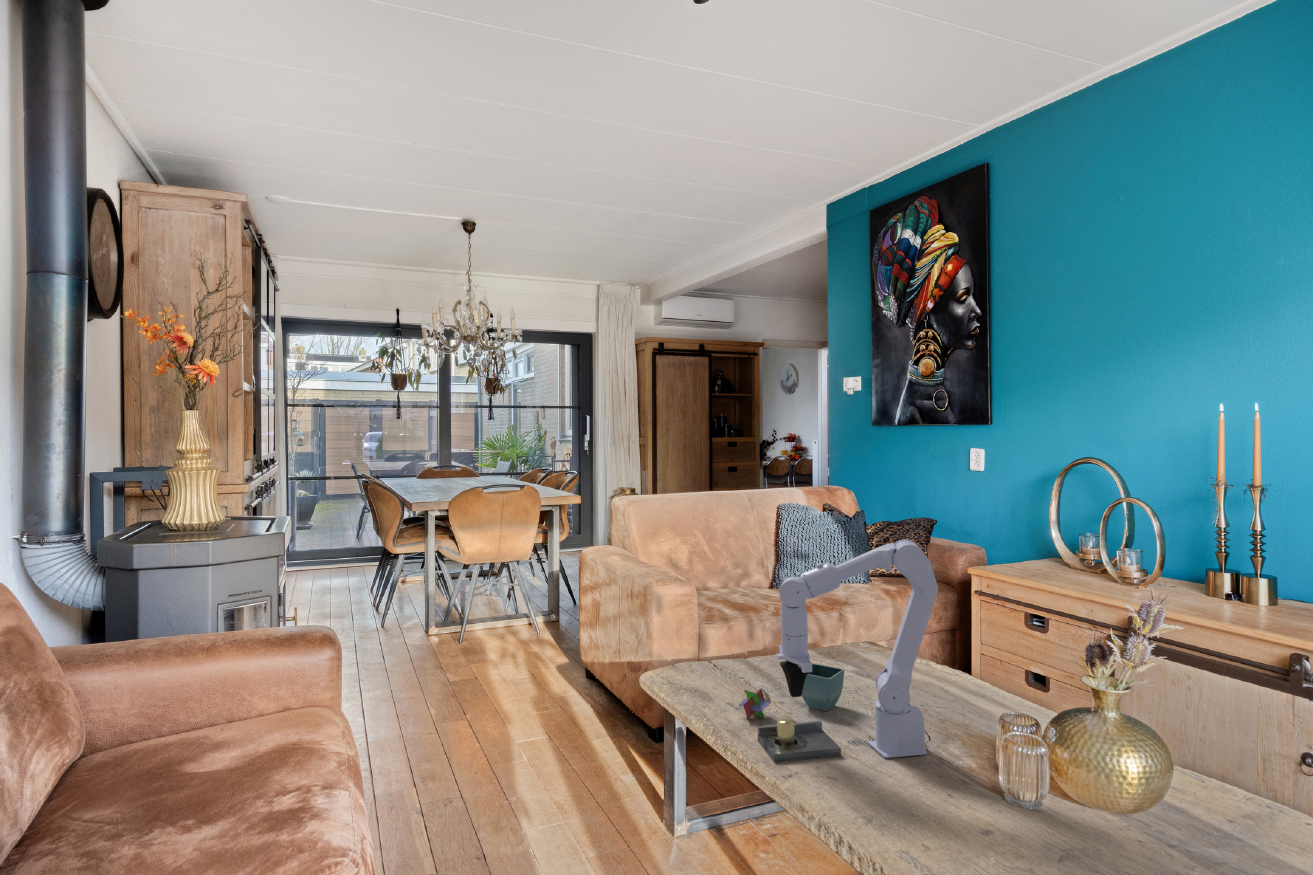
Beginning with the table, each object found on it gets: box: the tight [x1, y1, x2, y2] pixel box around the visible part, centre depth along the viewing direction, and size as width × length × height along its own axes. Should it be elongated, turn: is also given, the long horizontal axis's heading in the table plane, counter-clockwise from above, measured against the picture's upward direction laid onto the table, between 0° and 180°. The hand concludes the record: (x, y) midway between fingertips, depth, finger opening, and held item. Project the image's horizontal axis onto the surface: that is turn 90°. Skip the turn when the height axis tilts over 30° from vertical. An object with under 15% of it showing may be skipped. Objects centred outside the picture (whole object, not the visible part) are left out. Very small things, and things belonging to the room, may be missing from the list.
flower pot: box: [801, 662, 845, 712], centre depth 183 cm, size 9×9×9 cm
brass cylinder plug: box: [776, 717, 795, 747], centre depth 158 cm, size 4×4×6 cm
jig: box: [757, 720, 842, 763], centre depth 159 cm, size 14×11×3 cm
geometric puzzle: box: [738, 688, 772, 720], centre depth 177 cm, size 7×7×8 cm
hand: (795, 695), depth 162 cm, fingers closed
